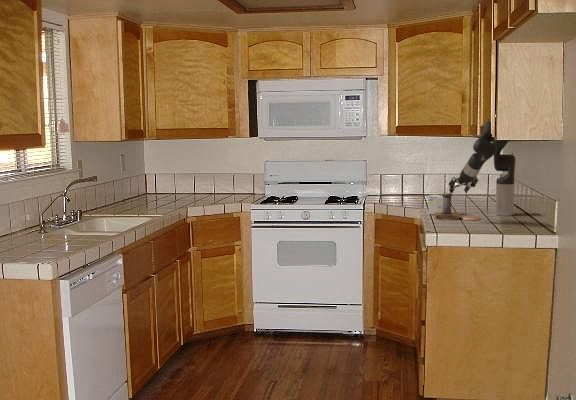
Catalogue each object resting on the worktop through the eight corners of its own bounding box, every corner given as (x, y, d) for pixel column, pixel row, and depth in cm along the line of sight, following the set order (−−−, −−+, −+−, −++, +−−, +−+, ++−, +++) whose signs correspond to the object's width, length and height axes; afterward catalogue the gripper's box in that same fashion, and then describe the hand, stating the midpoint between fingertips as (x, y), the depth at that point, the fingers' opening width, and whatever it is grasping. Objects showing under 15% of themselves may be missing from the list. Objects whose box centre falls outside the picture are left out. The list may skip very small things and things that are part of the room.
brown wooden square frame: (434, 216, 347) (434, 212, 347) (457, 216, 345) (457, 212, 345) (435, 219, 336) (435, 215, 335) (459, 220, 333) (459, 215, 333)
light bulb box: (450, 214, 357) (450, 195, 355) (446, 215, 351) (447, 196, 350) (431, 213, 362) (432, 194, 361) (428, 214, 356) (428, 195, 355)
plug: (441, 217, 343) (441, 193, 342) (451, 217, 342) (451, 193, 341) (441, 219, 338) (442, 194, 337) (452, 219, 337) (452, 194, 336)
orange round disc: (460, 218, 340) (460, 216, 340) (478, 218, 339) (478, 216, 339) (462, 220, 332) (462, 218, 332) (480, 220, 330) (480, 219, 330)
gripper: (480, 164, 321) (467, 185, 333) (455, 165, 317) (443, 186, 329) (486, 175, 316) (472, 196, 328) (460, 176, 312) (448, 197, 324)
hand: (457, 191), depth 329 cm, fingers open, 8 cm apart
